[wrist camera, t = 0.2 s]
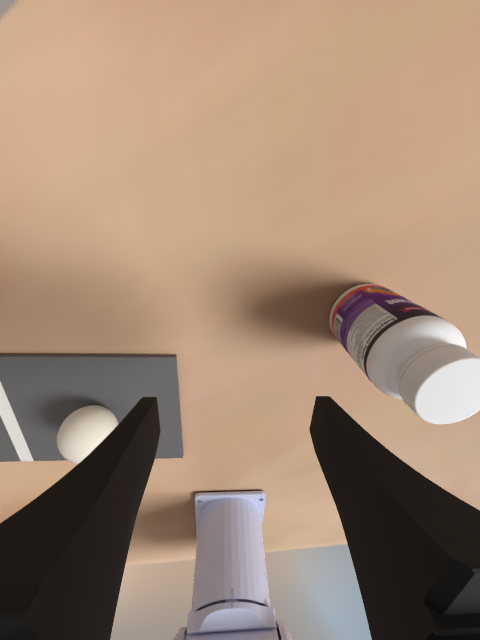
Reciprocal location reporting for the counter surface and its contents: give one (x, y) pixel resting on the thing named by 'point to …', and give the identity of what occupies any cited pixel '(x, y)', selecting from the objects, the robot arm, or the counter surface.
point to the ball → (84, 431)
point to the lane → (81, 398)
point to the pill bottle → (408, 352)
